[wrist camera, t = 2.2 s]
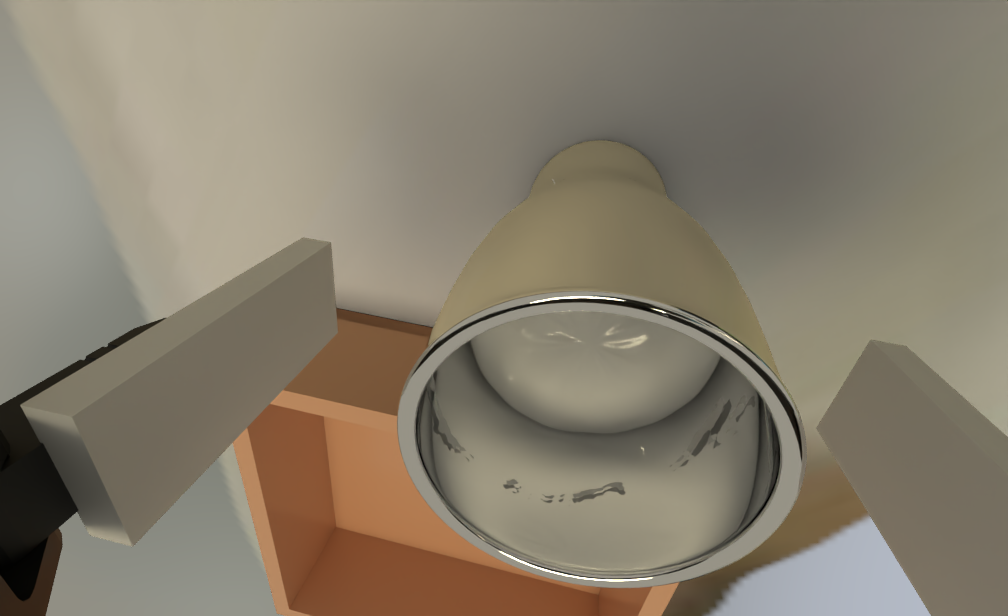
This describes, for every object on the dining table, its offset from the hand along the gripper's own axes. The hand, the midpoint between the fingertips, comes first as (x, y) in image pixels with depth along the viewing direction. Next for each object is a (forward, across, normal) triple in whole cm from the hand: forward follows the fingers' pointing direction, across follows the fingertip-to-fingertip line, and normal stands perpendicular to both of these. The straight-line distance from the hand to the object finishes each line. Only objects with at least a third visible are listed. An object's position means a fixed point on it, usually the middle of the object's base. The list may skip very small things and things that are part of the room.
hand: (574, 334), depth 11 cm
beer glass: (+11, 0, 0) cm, 11 cm away
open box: (+11, -4, -18) cm, 21 cm away
